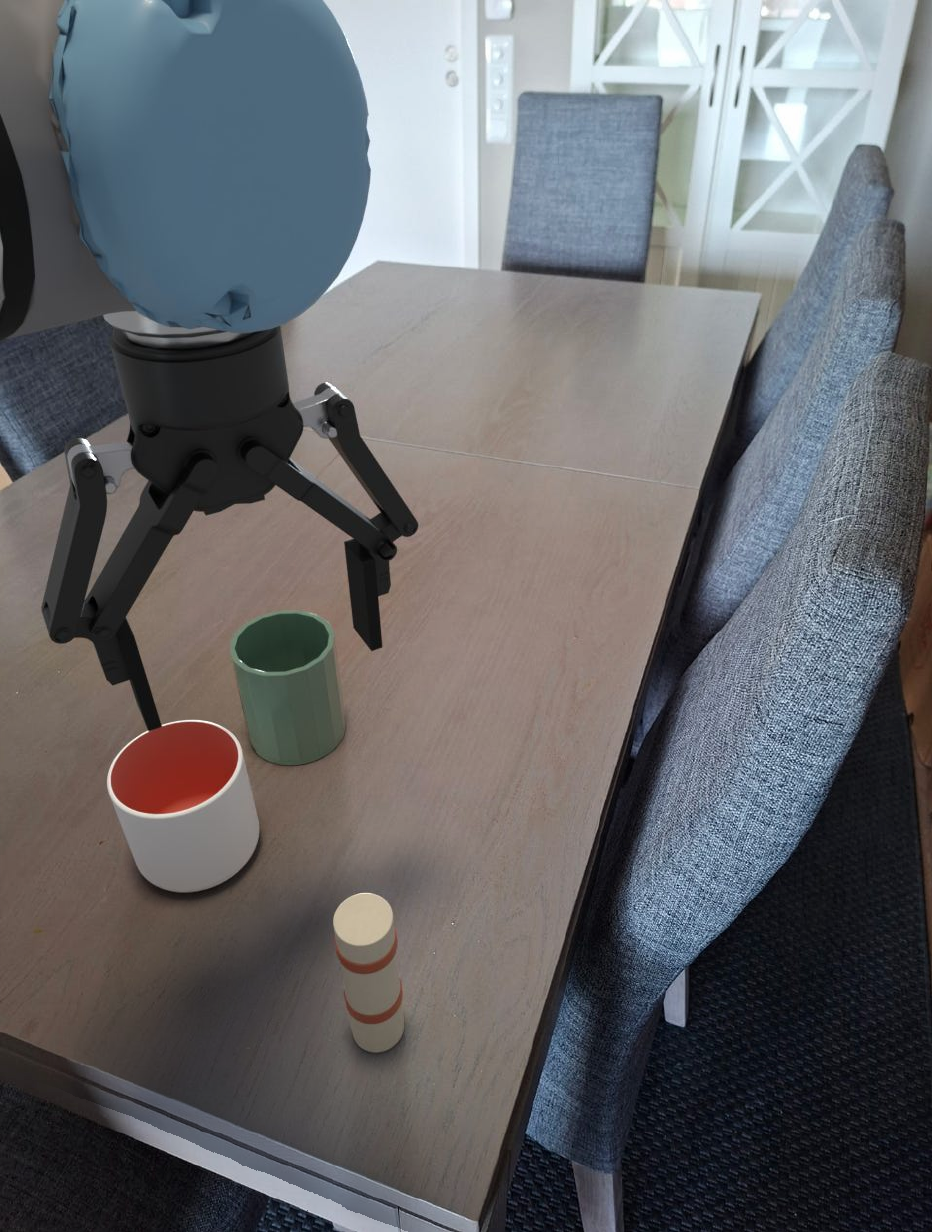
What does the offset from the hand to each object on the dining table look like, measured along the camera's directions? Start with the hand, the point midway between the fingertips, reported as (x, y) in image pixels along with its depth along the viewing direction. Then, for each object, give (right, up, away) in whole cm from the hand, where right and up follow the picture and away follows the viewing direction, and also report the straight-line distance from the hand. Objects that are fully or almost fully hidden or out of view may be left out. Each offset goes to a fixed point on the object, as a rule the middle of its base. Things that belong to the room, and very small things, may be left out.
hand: (264, 674), depth 52 cm
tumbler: (-4, -7, +31) cm, 32 cm away
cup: (-10, -16, +20) cm, 28 cm away
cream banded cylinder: (+6, -25, +8) cm, 27 cm away
